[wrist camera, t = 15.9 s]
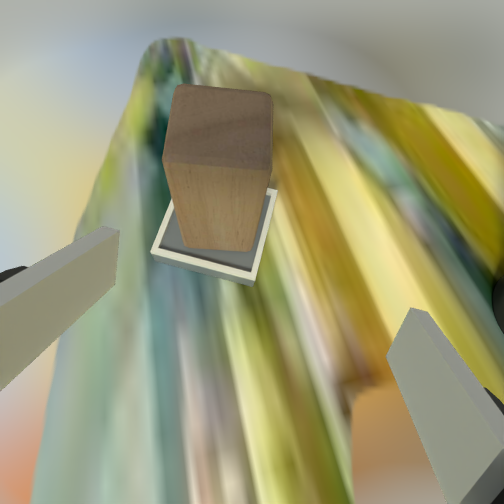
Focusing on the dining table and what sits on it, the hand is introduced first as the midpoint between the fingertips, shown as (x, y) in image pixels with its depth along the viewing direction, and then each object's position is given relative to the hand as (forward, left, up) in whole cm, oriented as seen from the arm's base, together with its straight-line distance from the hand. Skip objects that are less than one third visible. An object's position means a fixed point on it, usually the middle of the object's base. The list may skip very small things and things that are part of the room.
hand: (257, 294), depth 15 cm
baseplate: (+7, -18, -33) cm, 38 cm away
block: (+7, -18, -30) cm, 35 cm away
